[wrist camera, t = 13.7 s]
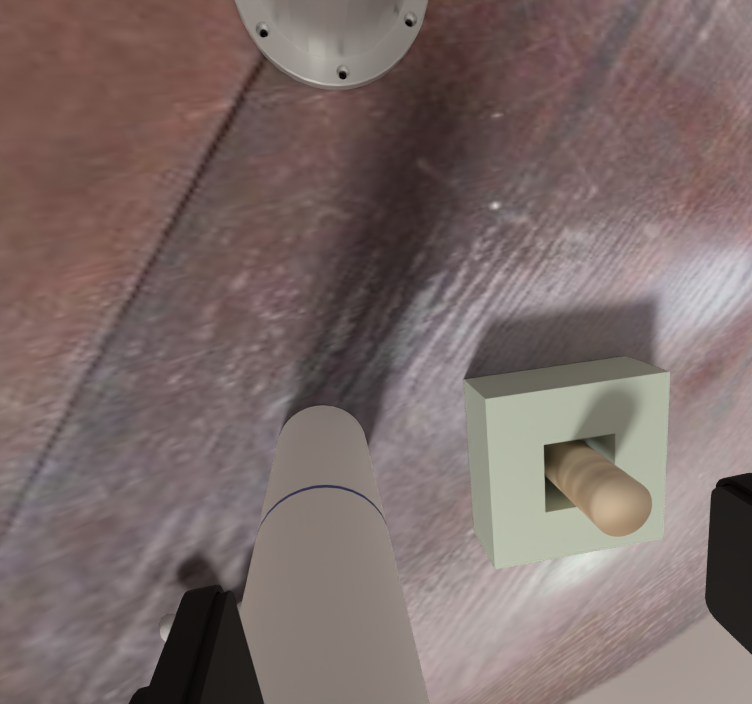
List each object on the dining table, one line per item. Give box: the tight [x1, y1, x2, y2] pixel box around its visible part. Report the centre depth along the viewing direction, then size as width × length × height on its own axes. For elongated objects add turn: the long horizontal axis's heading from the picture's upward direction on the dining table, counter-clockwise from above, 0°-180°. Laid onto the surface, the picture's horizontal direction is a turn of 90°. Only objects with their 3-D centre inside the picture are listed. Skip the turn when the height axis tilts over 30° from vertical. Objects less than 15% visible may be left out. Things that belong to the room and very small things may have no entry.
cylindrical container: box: [239, 405, 430, 704], centre depth 24 cm, size 7×7×25 cm
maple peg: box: [544, 439, 652, 537], centre depth 34 cm, size 4×4×10 cm
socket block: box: [464, 356, 670, 569], centre depth 37 cm, size 14×14×5 cm
